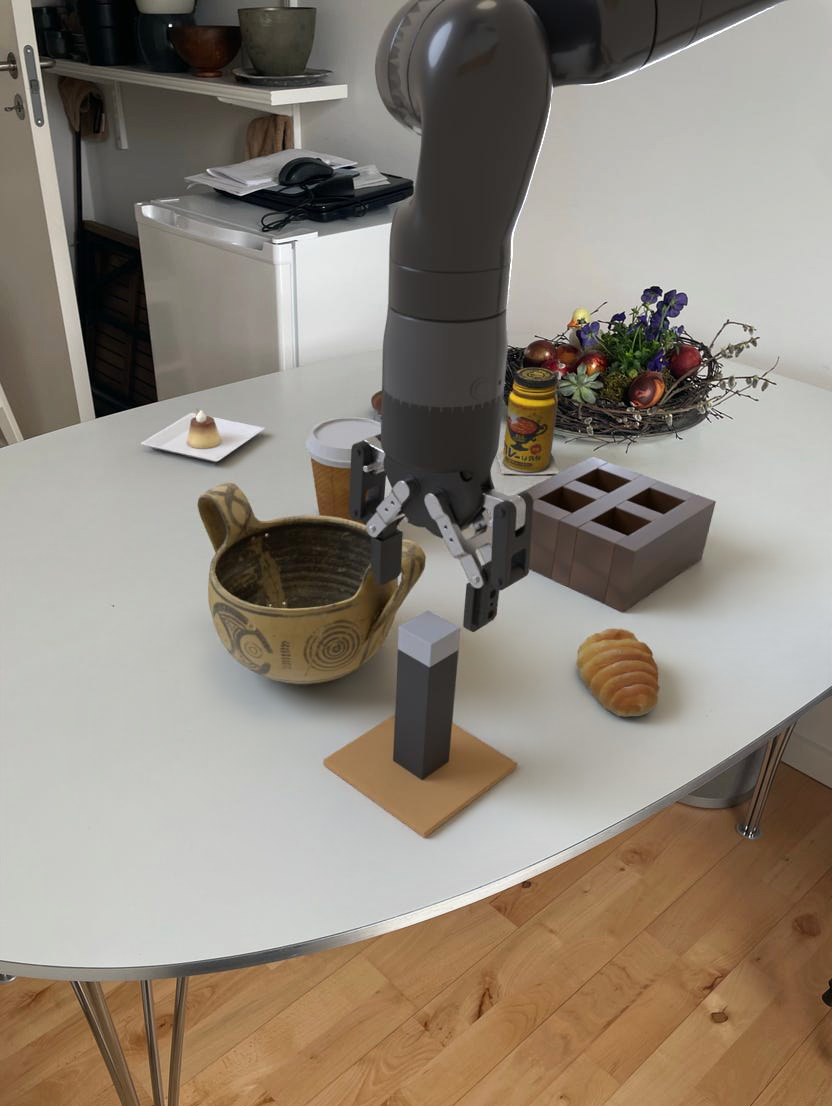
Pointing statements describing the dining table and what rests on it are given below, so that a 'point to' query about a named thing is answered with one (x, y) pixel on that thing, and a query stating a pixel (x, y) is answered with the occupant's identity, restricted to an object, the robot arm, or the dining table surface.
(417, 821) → the cork mat
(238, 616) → the ceramic bowl
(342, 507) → the disposable coffee cup
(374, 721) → the dining table surface
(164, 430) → the dessert
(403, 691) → the grey-capped tall post
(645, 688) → the pastry
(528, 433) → the condiment
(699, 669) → the dining table surface
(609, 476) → the holder
